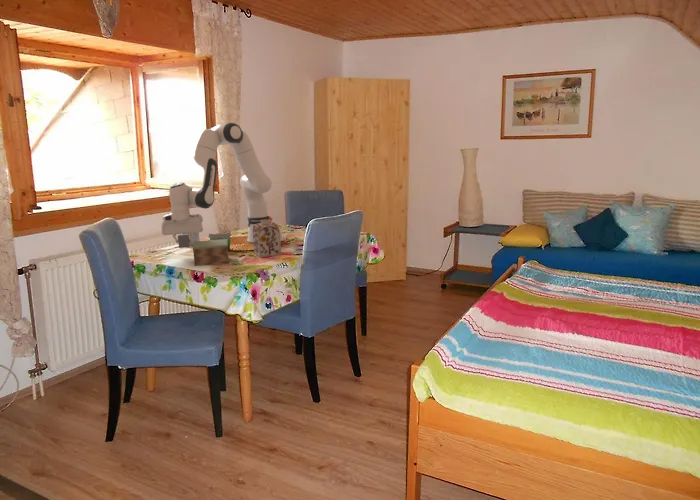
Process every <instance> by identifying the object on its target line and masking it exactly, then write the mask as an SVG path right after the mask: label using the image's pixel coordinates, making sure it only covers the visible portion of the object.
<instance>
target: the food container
mask: <svg viewBox="0 0 700 500" xmlns="http://www.w3.org/2000/svg"><path fill="white" fill-rule="evenodd" d="M231 236H232V232H231V231H229V232H224V233H223V232H219V233H208V238H209V240H222V239H227V244H228V252H229V251H230V250H231Z"/></svg>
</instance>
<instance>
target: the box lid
mask: <svg viewBox="0 0 700 500" xmlns="http://www.w3.org/2000/svg"><path fill="white" fill-rule="evenodd" d="M220 247H228V244H227V239H222V240H210V239H209V240H200V241H194V243H193V246H191V248H192V250H193V249H207V248H220Z"/></svg>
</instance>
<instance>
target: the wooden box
mask: <svg viewBox="0 0 700 500" xmlns="http://www.w3.org/2000/svg"><path fill="white" fill-rule="evenodd" d="M192 252H193V264H194V267H197V266H196V265H199V266H206V265H207V266H208V265H209V266H210V265H222V264H229V251H228V247H220V248H207V249H193V248H192Z"/></svg>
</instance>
